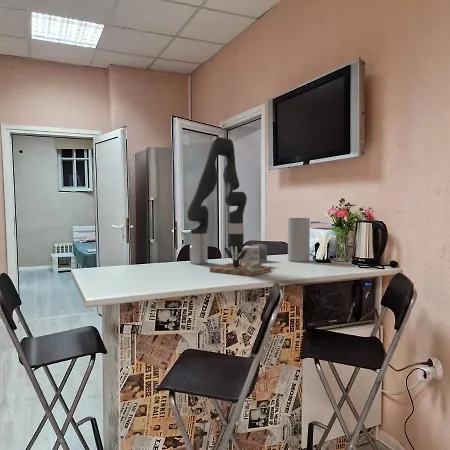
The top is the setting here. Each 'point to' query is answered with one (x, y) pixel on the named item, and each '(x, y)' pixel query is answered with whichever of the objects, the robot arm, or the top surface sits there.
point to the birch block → (248, 265)
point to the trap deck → (240, 269)
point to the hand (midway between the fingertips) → (236, 267)
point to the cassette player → (262, 252)
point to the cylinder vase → (299, 239)
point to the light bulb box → (251, 254)
